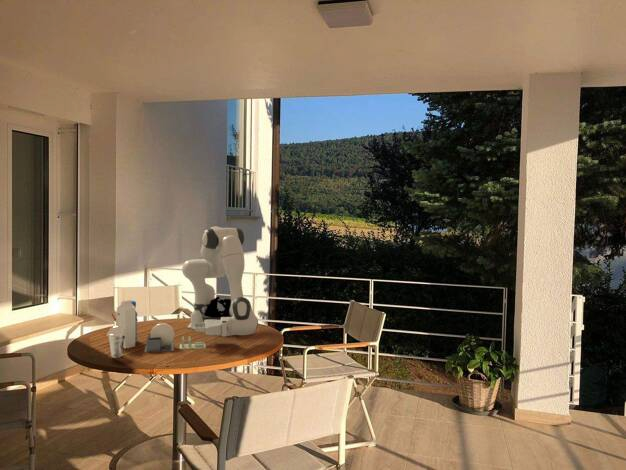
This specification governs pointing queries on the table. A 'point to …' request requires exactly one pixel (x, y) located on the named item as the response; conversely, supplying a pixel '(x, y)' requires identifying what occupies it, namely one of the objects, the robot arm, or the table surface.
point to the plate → (163, 333)
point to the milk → (127, 322)
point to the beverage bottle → (135, 320)
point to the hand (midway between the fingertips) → (194, 327)
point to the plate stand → (191, 346)
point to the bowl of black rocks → (214, 312)
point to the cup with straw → (116, 339)
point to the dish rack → (157, 345)
